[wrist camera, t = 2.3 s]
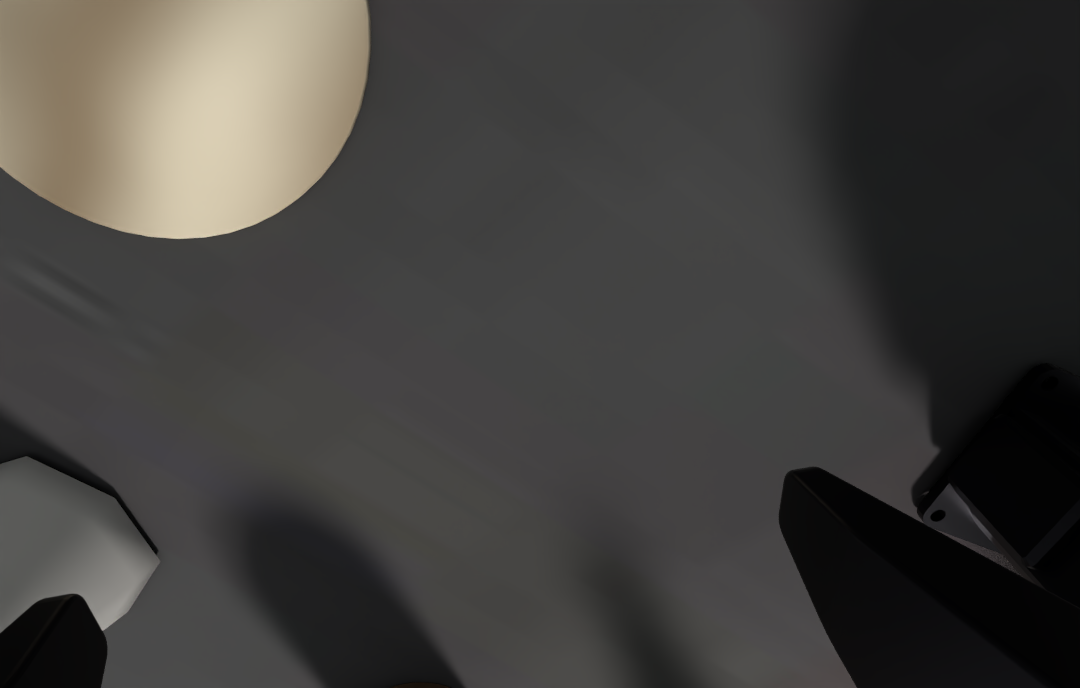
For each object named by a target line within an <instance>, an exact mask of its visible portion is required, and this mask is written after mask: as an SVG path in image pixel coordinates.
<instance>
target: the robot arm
mask: <svg viewBox="0 0 1080 688" xmlns="http://www.w3.org/2000/svg"><path fill="white" fill-rule="evenodd" d="M1048 377H1049V379H1048V381H1046V382H1045V383H1044V384H1042V382H1043V381H1044V380H1045V379H1046V378H1048ZM936 510H938V511H937V512H935V513H933V512H934V511H936ZM917 513H918V515H919V517H920V518H921V520H922V521H923V522H924V523H925V524H926V525H925V524H923V523H921V522H920V521H918V520H916V519H914V518H912V517H910V516H908V515H907V514H905V513H903V512H901V511H899V510H897V509H895V508H894V507H892V506H890V505H888V504H886V503H884V502H883V501H881V500H879V499H877V498H875V497H873V496H871V495H870V494H868V493H866V492H864V491H862V490H860V489H858V488H857V487H855V486H853V485H851V484H849V483H847V482H845V481H844V480H842V479H840V478H838V477H836V476H834V475H833V474H831V473H829V472H827V471H825V470H823V469H821V468H819V467H808V468H802V469H796V470H791V471H789V472H788V473H787V474H786V476H785V479H784V484H783V490H782V497H781V503H780V510H779V524H780V529H781V532H782V534H783V537H784V539H785V541H786V544H787V546H788V548H789V550H790V553H791V555H792V557H793V559H794V562H795V564H796V566H797V569H798V571H799V573H800V575H801V578H802V580H803V582H804V584H805V587H806V589H807V591H808V593H809V596H810V598H811V600H812V603H813V605H814V607H815V609H816V612H817V614H818V616H819V618H820V620H821V623H822V625H823V627H824V629H825V631H826V633H827V635H828V637H829V639H830V641H831V643H832V644H833V646H834V648H835V650H836V652H837V653H838V655H839V657H840V659H841V660H842V662H843V664H844V666H845V667H846V669H847V671H848V673H849V674H850V676H851V678H852V680H853V681H854V683H855V685H856V687H857V688H1080V377H1079V376H1077V375H1074V374H1072V373H1070V372H1068V371H1066V370H1063V369H1061V368H1059V367H1057V366H1054V365H1052V364H1047V363H1046V364H1040V365H1038V366H1036V367H1034V368H1033V369H1032V370H1030V371H1029V372H1028V373H1027V375H1026V376H1025V377H1024V378H1023V380H1022V381H1021V382H1020V383H1019V384H1018V386H1017V387H1016V388H1015V389H1014V390H1013V392H1012V393H1011V394H1010V395H1009V396H1008V398H1007V399H1006V400H1005V401H1004V402H1003V404H1002V405H1001V406H1000V407H999V409H998V410H997V411H996V412H995V413H994V415H993V416H992V417H991V418H990V419H989V421H988V422H987V423H986V424H985V425H984V427H983V428H982V429H981V430H980V431H979V433H978V434H977V435H976V436H975V438H974V439H973V440H972V441H971V442H970V444H969V445H968V446H967V447H966V448H965V450H964V451H963V452H962V453H961V454H960V456H959V457H958V458H957V459H956V461H955V462H954V463H953V464H952V465H951V467H950V468H949V469H948V470H947V471H946V473H945V474H944V475H943V476H942V477H941V479H940V480H939V481H938V482H937V483H936V485H935V486H934V487H933V488H932V490H931V491H930V492H929V493H928V494H927V496H926V497H925V498H924V499H923V500H922V502H921V503H920V504H919V506H918V508H917ZM932 513H933V514H932ZM932 528H934V529H937V530H939V531H942V532H945V533H947V534H950V535H953V536H955V537H958V538H961V539H963V540H966V541H969V542H971V543H974V544H977V545H979V546H982V547H985V548H987V549H990V550H993V551H995V552H998V553H1001V554H1003V555H1004V557H1005V558H1006V559H1007V560H1008V561H1009V562H1010V563H1011V565H1012V566H1013V567H1014V568H1015V569H1016V570H1017V571H1018V573H1019V574H1020V575H1021V576H1022V577H1021V576H1020V575H1018V574H1016V573H1014V572H1012V571H1010V570H1008V569H1007V568H1005V567H1003V566H1001V565H999V564H997V563H995V562H994V561H992V560H990V559H988V558H986V557H984V556H982V555H981V554H979V553H977V552H975V551H973V550H971V549H970V548H968V547H966V546H964V545H962V544H960V543H958V542H957V541H955V540H953V539H951V538H949V537H947V536H945V535H944V534H942V533H940V532H938V531H936V530H934V529H932ZM106 659H107V641H106V637H105V635H104V633H103V631H102V629H101V628H100V626H99V624H98V622H97V620H96V619H95V617H94V615H93V613H92V611H91V610H90V608H89V606H88V604H87V603H86V601H85V599H84V598H83V597H82V596H80V595H79V594H73V593H72V594H65V595H60V596H54V597H48V598H44V599H41V600H39V601H37V602H36V603H34V604H33V605H32V606H30V607H29V608H28V609H27V610H26V611H25V612H24V613H22V614H21V615H20V616H19V617H18V618H17V619H16V620H14V621H13V622H12V623H11V624H10V625H9V626H8V627H6V628H5V629H4V630H3V631H2V632H1V633H0V688H101V684H102V679H103V674H104V669H105V664H106Z"/></svg>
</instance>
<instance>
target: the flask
mask: <svg viewBox="0 0 1080 688" xmlns="http://www.w3.org/2000/svg"><path fill="white" fill-rule="evenodd" d="M159 563H160V560H159V559H158V557H157V556H156V555H155V553H154V552H153V550H152V549H151V548H150V546H149V545H148V543H147V542H146V541H145V539H144V538H143V537H142V535H141V534H140V532H139V531H138V530H137V528H136V527H135V525H134V524H133V523H132V521H131V520H130V518H129V517H128V516H127V514H126V513H125V511H124V510H123V509H122V507H121V506H120V504H119V503H118V502H117V500H116V499H115V498H114V497H112V496H110V495H108V494H106V493H103V492H101V491H99V490H97V489H95V488H93V487H91V486H89V485H87V484H84V483H82V482H80V481H78V480H76V479H74V478H72V477H70V476H68V475H65V474H63V473H61V472H59V471H57V470H55V469H53V468H51V467H49V466H46V465H44V464H42V463H40V462H38V461H36V460H34V459H32V458H30V457H27V456H25V457H22V458H19V459H15V460H12V461H8V462H5V463H2V464H0V633H1V632H2V631H3V630H4V629H5V628H6V627H8V626H9V625H10V624H11V623H12V622H13V621H14V620H16V619H17V618H18V617H19V616H20V615H21V614H22V613H24V612H25V611H26V610H27V609H28V608H29V607H30V606H32V605H33V604H34V603H36V602H37V601H39V600H41V599H44V598H48V597H54V596H60V595H65V594H72V593H73V594H79V595H80V596H82V597H83V598H84V599H85V601H86V603H87V604H88V606H89V608H90V610H91V611H92V613H93V615H94V617H95V619H96V620H97V622H98V624H99V626H100V628H101V629H102V631H103V630H104V629H106V628H107V627H108V626H110V625H111V624H112V623H114V622H115V621H116V620H118V619H119V618H120V617H122V616H123V615H124V614H126V613H127V612H128V611H129V609H130V608H131V606H132V605H133V603H134V602H135V600H136V598H137V597H138V595H139V594H140V592H141V591H142V589H143V588H144V586H145V584H146V583H147V581H148V580H149V578H150V577H151V575H152V574H153V572H154V570H155V569H156V567H157V566H158V564H159Z"/></svg>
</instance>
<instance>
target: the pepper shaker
mask: <svg viewBox="0 0 1080 688" xmlns="http://www.w3.org/2000/svg"><path fill="white" fill-rule="evenodd" d="M391 688H450V687H447V686H443V685H439V684H433V683H421V682H418V683H407V684H401V685H397V686H394V687H391Z"/></svg>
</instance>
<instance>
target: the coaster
mask: <svg viewBox="0 0 1080 688" xmlns="http://www.w3.org/2000/svg"><path fill="white" fill-rule="evenodd" d="M370 56H371V16H370V8H369V1H368V0H0V167H1V168H2V169H4V170H5V171H6V172H7V173H8V174H9V175H11V176H12V177H13V178H15V179H16V180H18V181H19V182H20V183H22V184H23V185H25V186H26V187H28V188H29V189H31V190H32V191H33V192H35V193H36V194H38V195H39V196H41V197H43V198H45V199H47V200H48V201H50V202H52V203H54V204H55V205H57V206H59V207H61V208H63V209H64V210H66V211H69V212H71V213H73V214H76V215H78V216H80V217H82V218H85V219H87V220H89V221H92V222H94V223H97V224H100V225H104V226H107V227H110V228H113V229H116V230H120V231H123V232H128V233H134V234H139V235H144V236H149V237H161V238H174V239H183V238H203V237H209V236H215V235H220V234H226V233H231V232H234V231H237V230H240V229H243V228H246V227H249V226H252V225H255V224H257V223H259V222H261V221H263V220H265V219H267V218H269V217H271V216H273V215H275V214H277V213H278V212H280V211H281V210H283V209H284V208H285V207H287V206H288V205H290V204H291V203H293V202H294V201H295V200H297V199H298V198H299V197H301V196H302V195H303V194H304V193H305V192H306V191H307V190H308V189H309V188H310V187H311V186H313V185H314V184H315V183H316V182H317V181H318V180H319V179H320V178H321V177H322V176H323V175H324V173H325V172H326V171H327V170H328V168H329V167H330V166H331V164H332V163H333V162H334V161H335V159H336V158H337V157H338V155H339V154H340V152H341V150H342V148H343V146H344V145H345V143H346V141H347V139H348V138H349V136H350V134H351V132H352V130H353V127H354V124H355V122H356V119H357V117H358V114H359V112H360V109H361V106H362V102H363V98H364V94H365V90H366V86H367V81H368V75H369V66H370Z"/></svg>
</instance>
